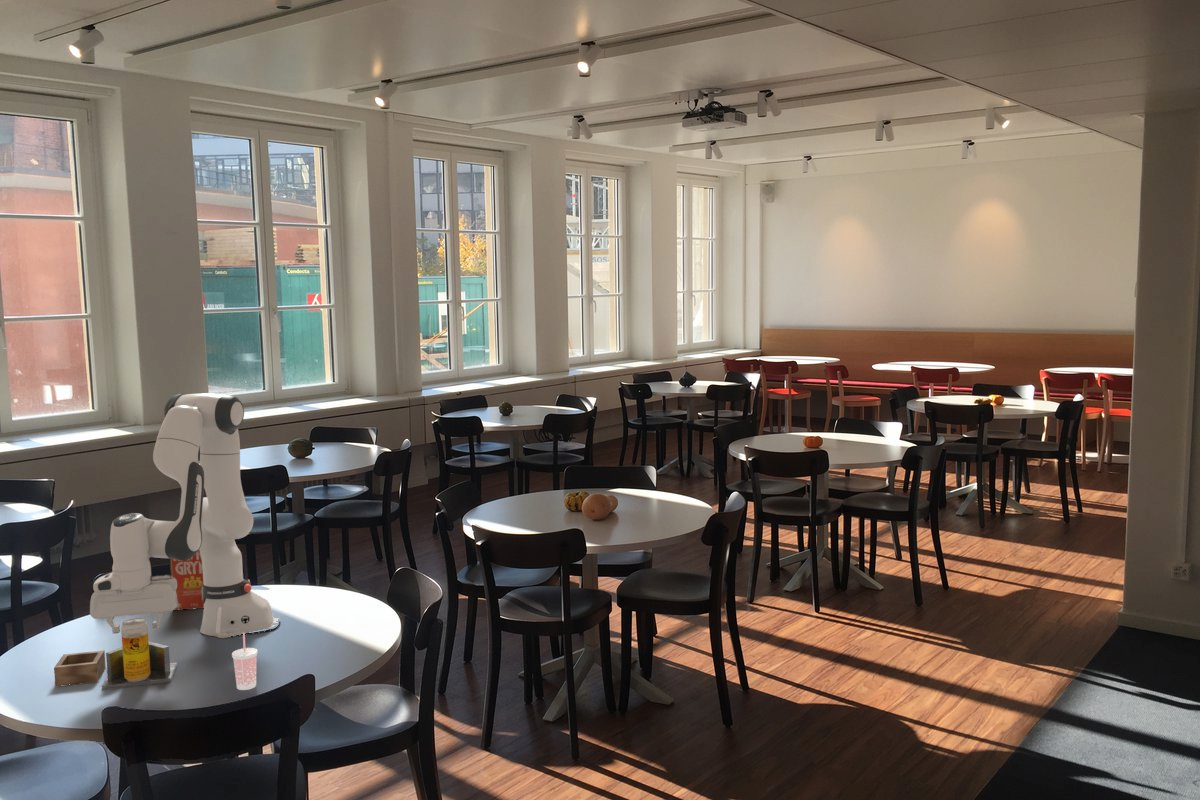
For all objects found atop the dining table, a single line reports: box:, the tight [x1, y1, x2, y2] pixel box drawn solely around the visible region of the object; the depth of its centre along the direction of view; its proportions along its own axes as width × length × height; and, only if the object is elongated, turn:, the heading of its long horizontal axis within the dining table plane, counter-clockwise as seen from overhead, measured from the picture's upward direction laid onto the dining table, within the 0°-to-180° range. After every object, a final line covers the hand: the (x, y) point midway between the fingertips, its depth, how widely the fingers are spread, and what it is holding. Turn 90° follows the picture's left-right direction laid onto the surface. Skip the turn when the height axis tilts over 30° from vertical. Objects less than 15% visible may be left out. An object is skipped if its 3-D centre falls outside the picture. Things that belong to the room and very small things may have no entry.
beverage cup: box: [231, 633, 259, 691], centre depth 246 cm, size 6×6×14 cm
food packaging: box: [169, 550, 204, 611], centre depth 313 cm, size 13×9×25 cm
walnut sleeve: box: [53, 649, 107, 687], centre depth 254 cm, size 10×10×5 cm
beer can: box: [120, 617, 151, 682], centre depth 250 cm, size 6×6×15 cm
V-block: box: [101, 641, 178, 690], centre depth 253 cm, size 16×12×8 cm
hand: (136, 630), depth 251 cm, fingers open, 8 cm apart
